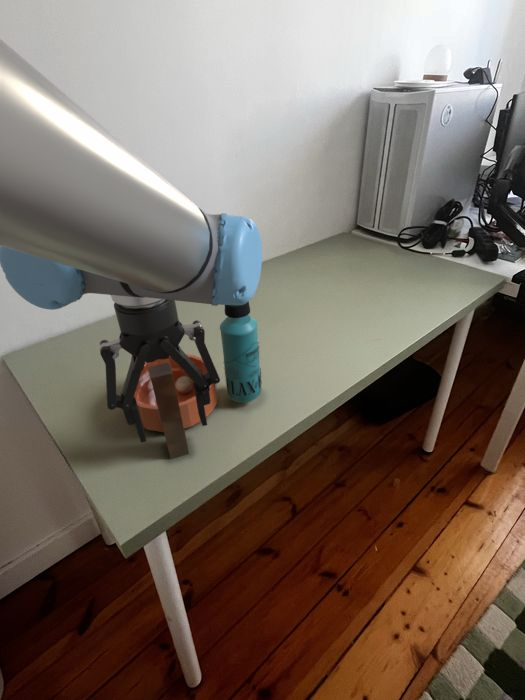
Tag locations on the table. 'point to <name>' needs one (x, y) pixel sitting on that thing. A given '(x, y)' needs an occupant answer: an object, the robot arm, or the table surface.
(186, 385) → the bead
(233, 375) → the beverage bottle
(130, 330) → the robot arm
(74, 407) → the table surface
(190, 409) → the bowl
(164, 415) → the stick
